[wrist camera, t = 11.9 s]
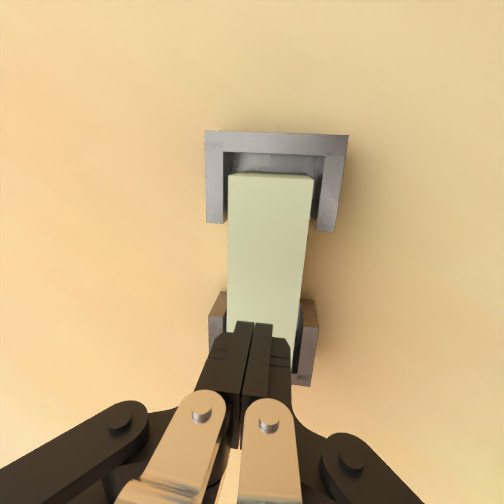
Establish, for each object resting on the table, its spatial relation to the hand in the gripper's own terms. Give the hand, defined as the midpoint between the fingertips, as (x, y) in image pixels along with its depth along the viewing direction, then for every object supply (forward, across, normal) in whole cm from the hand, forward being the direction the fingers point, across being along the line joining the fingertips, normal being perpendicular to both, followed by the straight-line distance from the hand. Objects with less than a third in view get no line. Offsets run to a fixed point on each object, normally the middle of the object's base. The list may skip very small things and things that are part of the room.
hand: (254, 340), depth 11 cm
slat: (+9, 0, 0) cm, 9 cm away
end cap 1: (+9, 0, -6) cm, 11 cm away
